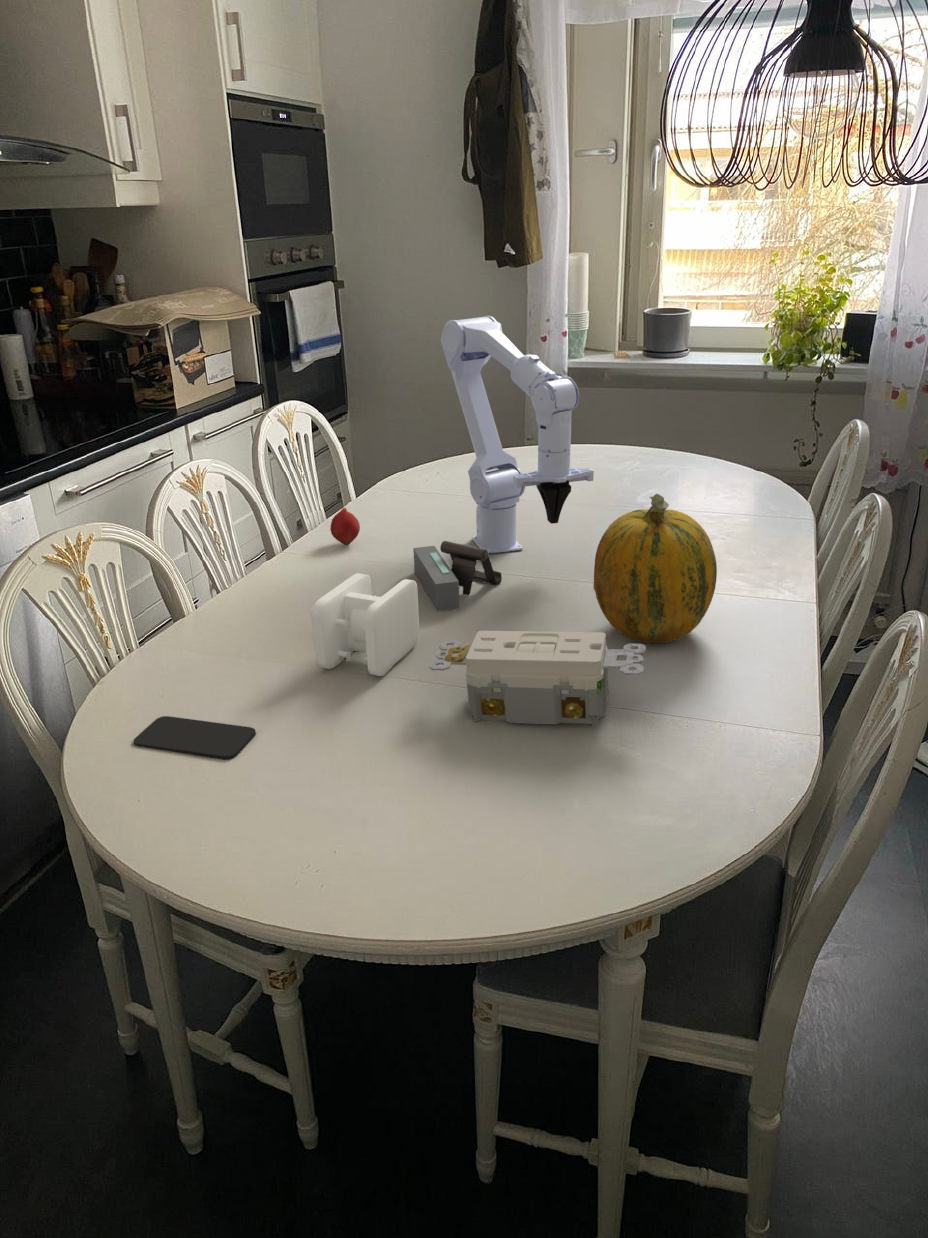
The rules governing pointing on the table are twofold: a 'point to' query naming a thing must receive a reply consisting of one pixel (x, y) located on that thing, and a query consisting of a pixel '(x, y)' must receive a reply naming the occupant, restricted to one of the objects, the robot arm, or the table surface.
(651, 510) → the pumpkin
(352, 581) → the cable organizer
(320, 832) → the table surface
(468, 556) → the portable electronic device stand
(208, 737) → the phone
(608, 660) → the electrical outlet
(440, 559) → the charging dock
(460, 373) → the robot arm
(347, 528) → the onion
